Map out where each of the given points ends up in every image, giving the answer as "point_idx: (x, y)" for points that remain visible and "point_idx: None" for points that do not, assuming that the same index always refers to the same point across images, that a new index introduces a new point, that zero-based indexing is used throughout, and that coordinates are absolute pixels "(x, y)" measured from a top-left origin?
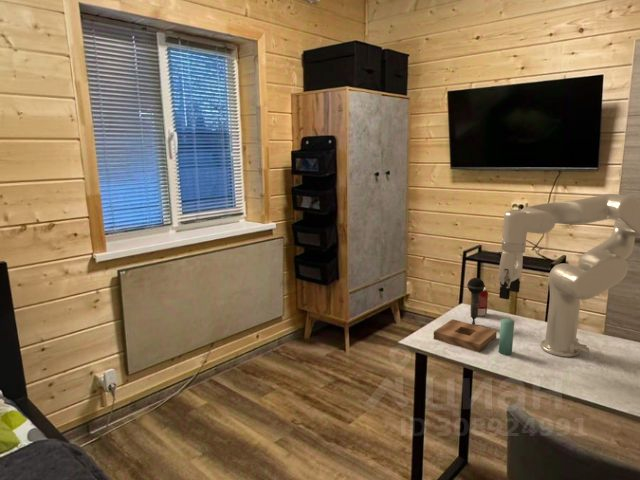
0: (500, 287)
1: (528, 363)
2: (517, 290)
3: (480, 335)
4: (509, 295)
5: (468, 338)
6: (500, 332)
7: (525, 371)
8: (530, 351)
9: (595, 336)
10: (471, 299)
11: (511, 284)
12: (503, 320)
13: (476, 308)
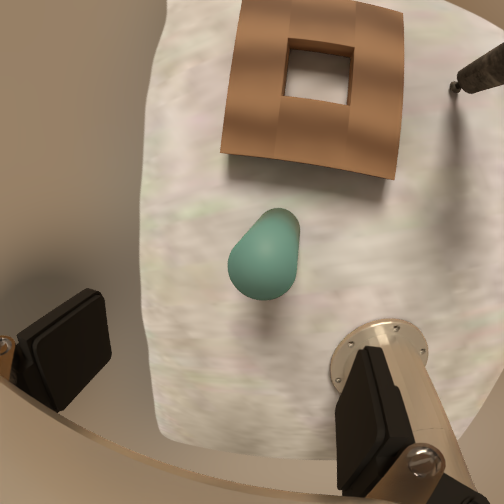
0: (24, 335)
1: (238, 302)
2: (338, 416)
3: (310, 130)
4: (90, 375)
5: (252, 99)
6: (254, 225)
7: (185, 300)
8: (329, 298)
9: (473, 402)
10: (496, 47)
11: (366, 408)
12: (254, 248)
13: (481, 80)
